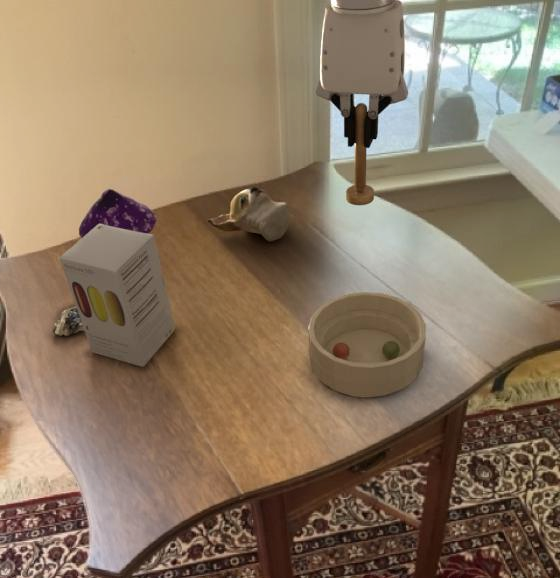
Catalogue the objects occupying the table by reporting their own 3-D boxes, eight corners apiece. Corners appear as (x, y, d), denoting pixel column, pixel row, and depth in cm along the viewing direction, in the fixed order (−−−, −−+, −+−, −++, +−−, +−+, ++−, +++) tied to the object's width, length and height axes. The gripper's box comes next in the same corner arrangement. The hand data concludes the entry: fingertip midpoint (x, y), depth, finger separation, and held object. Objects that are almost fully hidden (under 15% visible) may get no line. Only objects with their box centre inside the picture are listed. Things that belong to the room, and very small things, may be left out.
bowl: (444, 357, 91) (449, 324, 87) (371, 418, 84) (372, 385, 80) (361, 311, 99) (361, 278, 95) (287, 362, 92) (285, 329, 88)
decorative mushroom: (142, 241, 118) (122, 163, 107) (181, 269, 110) (164, 188, 100) (80, 270, 112) (53, 191, 102) (116, 302, 105) (91, 220, 95)
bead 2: (402, 355, 91) (403, 342, 89) (391, 364, 90) (392, 351, 88) (389, 348, 92) (390, 335, 91) (378, 356, 91) (378, 343, 89)
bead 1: (353, 357, 91) (353, 344, 90) (341, 366, 90) (341, 353, 89) (340, 349, 93) (340, 336, 91) (329, 358, 92) (328, 345, 90)
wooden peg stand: (379, 197, 95) (383, 102, 86) (360, 208, 93) (362, 112, 84) (359, 188, 97) (360, 94, 88) (340, 199, 96) (339, 104, 86)
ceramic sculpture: (265, 210, 105) (198, 191, 113) (271, 256, 111) (207, 236, 119) (304, 182, 111) (237, 166, 119) (308, 228, 117) (244, 210, 125)
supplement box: (90, 353, 97) (55, 257, 85) (124, 315, 103) (96, 221, 91) (144, 368, 93) (116, 271, 82) (177, 329, 99) (155, 232, 88)
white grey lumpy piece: (55, 344, 99) (51, 334, 97) (48, 313, 104) (44, 304, 103) (99, 331, 100) (96, 321, 99) (90, 302, 106) (87, 292, 104)
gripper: (435, -17, 77) (423, 134, 90) (307, -18, 81) (312, 127, 94) (425, 2, 72) (414, 160, 85) (289, 0, 76) (297, 151, 89)
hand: (360, 142), depth 89 cm, fingers closed on wooden peg stand, 1 cm apart
